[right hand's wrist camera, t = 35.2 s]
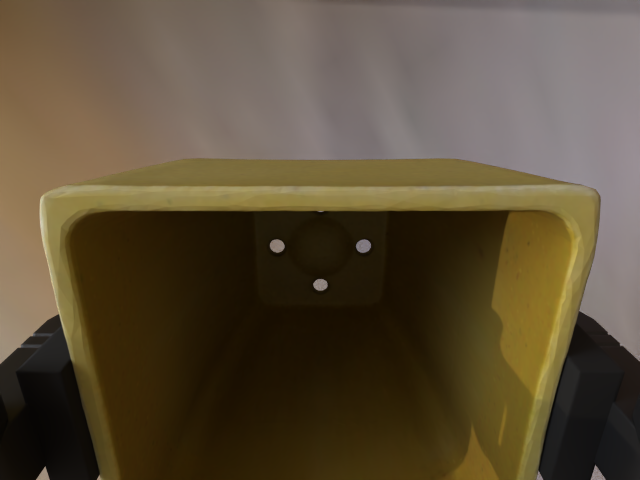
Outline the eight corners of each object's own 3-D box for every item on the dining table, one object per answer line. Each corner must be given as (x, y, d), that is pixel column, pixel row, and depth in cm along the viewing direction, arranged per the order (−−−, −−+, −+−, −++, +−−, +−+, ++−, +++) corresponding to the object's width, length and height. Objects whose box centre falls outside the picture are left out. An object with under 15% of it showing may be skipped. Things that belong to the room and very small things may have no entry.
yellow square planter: (189, 118, 15) (18, 188, 6) (448, 119, 15) (620, 187, 6) (213, 338, 18) (121, 577, 10) (424, 338, 18) (518, 575, 10)
